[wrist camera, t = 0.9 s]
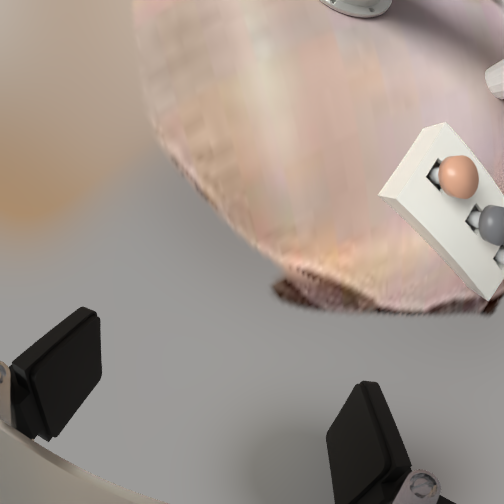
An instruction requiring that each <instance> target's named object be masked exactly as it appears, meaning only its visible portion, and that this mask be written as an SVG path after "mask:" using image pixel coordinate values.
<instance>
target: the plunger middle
mask: <svg viewBox="0 0 504 504" xmlns="http://www.w3.org/2000/svg"><path fill="white" fill-rule="evenodd" d="M465 222H466V223H467V224H468V225H470V226H473V227H476V228H479V233H480V236H481V237H482V239H483V240H484V241H486V242H489V243H491V244H494V245H496V246H501V245H503V244H504V207H500V206H495V205H488V206H486V207H485V208H484V209H483V210H482V212H477V211H473V210H471V212H470V214H469V215H468V217H467V219H466V220H465Z"/></svg>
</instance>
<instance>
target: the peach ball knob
mask: <svg viewBox="0 0 504 504" xmlns="http://www.w3.org/2000/svg"><path fill="white" fill-rule="evenodd" d="M426 178H427V179H428V180H429V181H430V182H431V183H432V184H440V186H441V188H442V189H443V191H444V192H445V193H446V194H447V195H449V196H451V197H456V198H462V199H468V198H470V197H472V196H473V195H474V194H475V192H476V190H477V188H478V184H479V175H478V170H477V167H476V165H475V164H474V162H473V161H472V160H471V159H470V158H469V157H467V156H463V155H460V156H449V157H446V158H445V159H444V160H443V161H442V162H441V164H440V167H432V168H431V170H430V171H429V173H428V174H427V176H426Z"/></svg>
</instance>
